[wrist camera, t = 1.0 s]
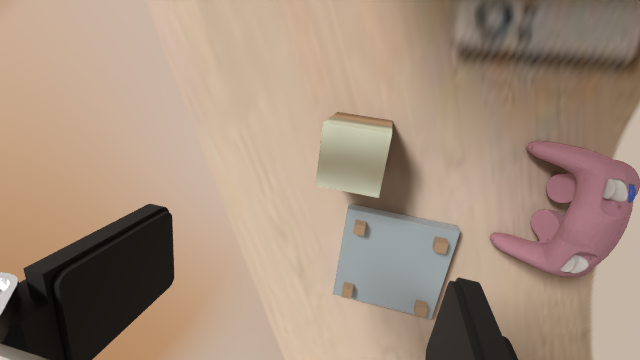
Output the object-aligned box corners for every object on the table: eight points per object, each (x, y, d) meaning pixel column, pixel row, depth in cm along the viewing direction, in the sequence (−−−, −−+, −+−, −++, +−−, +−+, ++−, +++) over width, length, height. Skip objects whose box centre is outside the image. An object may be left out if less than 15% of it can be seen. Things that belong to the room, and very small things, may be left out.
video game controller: (521, 241, 29) (599, 295, 23) (481, 241, 28) (552, 299, 21) (567, 139, 25) (675, 170, 19) (524, 134, 24) (624, 165, 18)
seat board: (349, 203, 30) (346, 213, 28) (457, 225, 28) (462, 237, 26) (334, 286, 33) (331, 300, 31) (429, 310, 32) (432, 327, 30)
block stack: (337, 111, 27) (323, 122, 22) (392, 120, 26) (392, 133, 21) (330, 163, 29) (315, 185, 23) (381, 172, 28) (378, 198, 23)
